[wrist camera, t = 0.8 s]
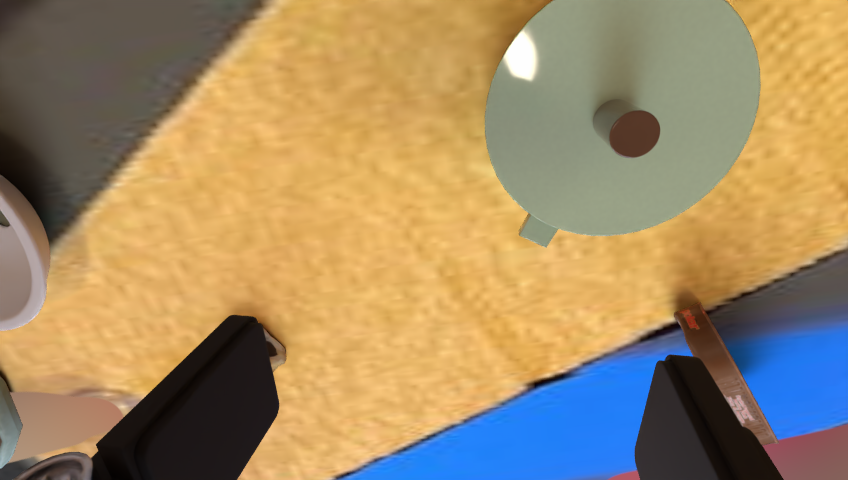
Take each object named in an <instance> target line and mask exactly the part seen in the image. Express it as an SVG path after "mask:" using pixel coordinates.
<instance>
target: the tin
mask: <svg viewBox="0 0 848 480" xmlns="http://www.w3.org/2000/svg"><path fill="white" fill-rule="evenodd" d="M674 317H675V319H676V320H677V321H678V323H679V324H680V326H681V328H682V329H683V332H684V335H685V339H686V342H687V344H688V346H689V348H690V350H691V353H692V354H693V356H694V357H698V358H700V359H701V360H702V361H703V363H704V365H705V366H706V368H707V369H708V371H709V373H710V374H711V376H712V378H713V379H714V381H715V382H716V384H717V386H718V387H719V389H720V391H721V392H722V394H723V395H724V397H725V399H726V400H727V402H728V404H729V405H730V407H731V408H732V410H733V412H734V413H735V415H736V416H737V418H738V420H739V421H740V423H741V425H742V426H743V427H746V428H748V429H750V430H751V431H752V432H753V433H754V435H755V436H756V437H757V438H758V440H759V442H760V443H761V445H766V444H771V443H777V444H778V443H779V441H778V440H777V438H776V436H775V434H774V432H773V430H772V429H771V427H770V425H769V423H768V421H767V420H766V418H765V416H764V414H763V412H762V410H761V409H760V407H759V405H758V403H757V402H756V400H755V398H754V396H753V394H752V392H751V391H750V389H749V387H748V385H747V383H746V382H745V380H744V378H743V376H742V374H741V372H740V371H739V369H738V367H737V365H736V364H735V362H734V360H733V358H732V356H731V355H730V353H729V351H728V349H727V348H726V346H725V344H724V342H723V341H722V339H721V337H720V335H719V334H718V332H717V330H716V328H715V327H714V325H713V323H712V322H711V320H710V318H709V317H708V315H707V313H706V311H705V310H704V308H703V306H702V305H701V303H700V302H698V303H697V304H695V305H692V306H690V307H687V308H684V309H681V310H679V311H677V312H675V313H674Z"/></svg>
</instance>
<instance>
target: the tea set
mask: <svg viewBox="0 0 848 480" xmlns="http://www.w3.org/2000/svg"><path fill="white" fill-rule="evenodd" d="M22 426H23V425H22V422H21V420H20V417H19V415H18V412H17V410H16V407H15V405H14V403H13V400H12V397H11V395H10V392H9V390H8V387H7V385H6V382H5V381H4V380H3V379H2V378H1V377H0V468H2V467H3V466H4V465H5V464H6V463H8V462H9V460H10V459H11V457H12V455H13V454H14V451H15V448H16V445H17V442H18V438H19V435H20V432H21V429H22Z"/></svg>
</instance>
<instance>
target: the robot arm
mask: <svg viewBox="0 0 848 480" xmlns="http://www.w3.org/2000/svg"><path fill="white" fill-rule="evenodd" d="M278 410H279V399H278V395H277V390H276V385H275V380H274V376H273V371H272V366H271V362H270V357H269V352H268V347H267V343H266V338H265V333H264V328H263V326H262V324H260V323H258V321H257V319H256V318H255V317H251V316H240V315H231V316H229V317H228V318H226V319H225V320H224V321H223V322H222V323H221V324H220V325H219V326H218V327H217V328H216V329H215V330H214V331H213V332H212V333H211V334H210V335H209V336H208V337H207V338H206V339H205V340H204V341H203V342H202V343H201V344H200V345H198V346H197V347H196V348H195V349H194V350H193V351H192V352H191V353H190V354H189V355H188V356H187V357H186V358H185V359H184V360H183V361H182V362H181V363H180V364H179V365H178V366H177V367H176V368H175V369H174V370H173V371H172V372H170V373H169V374H168V375H167V376H166V377H165V378H164V379H163V380H162V381H161V382H160V383H159V384H158V385H157V386H156V387H155V388H154V389H153V390H152V391H151V392H150V393H149V394H148V395H147V396H146V397H145V398H144V399H142V400H141V401H140V402H139V403H138V404H137V405H136V406H135V407H134V408H133V409H132V410H131V411H130V412H129V413H128V414H127V415H126V416H125V417H124V418H123V419H122V420H121V421H120V422H119V423H118V424H117V425H116V426H115V427H113V428H112V429H111V430H110V431H109V432H108V433H107V434H106V435H105V436H104V437H103V438H102V439H101V440H100V441H99V442H98V443H97V444H96V446H97V448H98V450H99V451H98V452H97V453H96V454H95V455H94V456H93V457H92V458H90V457H89V456H88V455H87V454H84V453H80V452H68V453H63V454H59V455H55V456H52V457H50V458H47V459H45V460H43V461H41V462H38V463H36V464H35V465H33V466H32V467H30V468H28V469H27V470H25V471H23V472H22V473H21V474H20V475H18V476H17V477H16V478H15V479H13V480H237V479H238V477H239V476H240V474H241V472H242V471H243V469H244V468H245V466H246V464H247V463H248V461H249V460H250V458H251V456H252V455H253V453H254V452H255V450H256V448H257V447H258V445H259V444H260V442H261V440H262V439H263V437H264V436H265V434H266V433H267V431H268V429H269V428H270V426H271V425H272V423H273V421H274V420H275V418H276V416H277V414H278ZM635 463H636V467H637V470H638V473H639V476H640V480H784V479H783V478H782V476H781V475H780V473H779V472H778V470H777V468H776V467H775V465H774V464H773V462H772V460H771V459H770V457H769V456H768V454H767V453H766V451H765V450H764V448H763V446H762V445H761V443H760V442H759V440H758V438H757V437H756V436H755V435H754V433H753V432H752V431H751V430H750V429H748V428H746V427H743V426H742V425H741V423H740V421H739V420H738V418H737V416H736V415H735V413H734V412H733V410H732V408H731V407H730V405H729V404H728V402H727V400H726V399H725V397H724V395H723V394H722V392H721V391H720V389H719V387H718V386H717V384H716V382H715V381H714V379H713V378H712V376H711V374H710V373H709V371H708V369H707V368H706V366H705V365H704V363H703V361H702V360H701V359H700V358H698V357H691V356H680V355H668V356H667V357H666V359H665V361H658V362H657V364H656V367H655V370H654V374H653V378H652V382H651V386H650V390H649V394H648V398H647V402H646V406H645V410H644V414H643V418H642V422H641V426H640V430H639V434H638V438H637V442H636V446H635Z"/></svg>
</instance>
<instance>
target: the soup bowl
mask: <svg viewBox="0 0 848 480" xmlns="http://www.w3.org/2000/svg"><path fill="white" fill-rule="evenodd" d="M0 210H1V212H2V213H3V214H4V216H5V217H6V218H7V220H8V221H9V223H10V226H9V227H5V226H2V225H1V224H0V331H3V330H11V329H15V328H18V327H21V326H23V325H25V324H27V323H29V322H30V321H31V320H32V319H33V318H34V317H35V316H36V315H37V314H38V313H39V311H40V310H41V308H42V306H43V304H44V301H45V297H46V289H47V280H46V279H47V276H48V272H49V267H50V249H49V242H48V238H47V235H46V232H45V229H44V227H43V224H42V222H41V220H40V218H39V216H38V215H37V213H36V211H35V210H34V208H33V207H32V205H31V204H30V203H29V202H28V200H27V199H26V198H25V197H24V196H23V194H22V193H21V192H20V191H19V190H18V189H17V188H16V187H15V186H14V185H13V184H11V183H10V182H9V181H8V180H7V179H6V178H4V177H3V176H2V175H0Z"/></svg>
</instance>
